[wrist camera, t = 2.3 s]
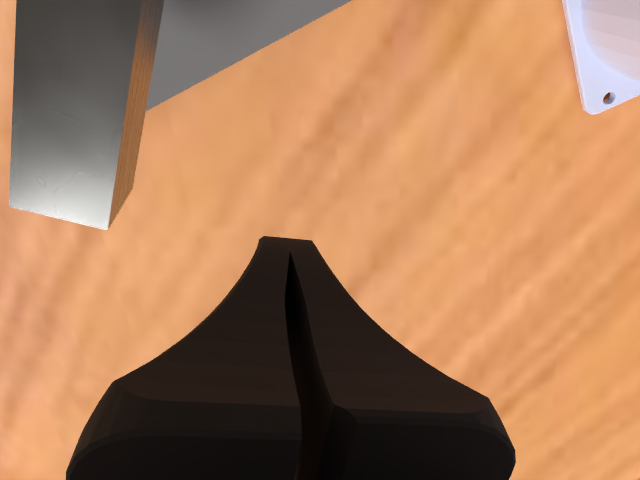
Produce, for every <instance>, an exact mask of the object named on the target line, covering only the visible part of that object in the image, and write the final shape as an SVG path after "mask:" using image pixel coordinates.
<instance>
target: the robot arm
mask: <svg viewBox="0 0 640 480" xmlns="http://www.w3.org/2000/svg"><path fill="white" fill-rule="evenodd" d="M562 3H563V8H564V14H565V19H566V24H567V30H568V35H569V40H570V45H571V51H572V56H573V61H574V66H575V72H576V77H577V82H578V88H579V93H580V98H581V103H582V107H583V110H584V111H586V112H587V113H589V114H593V115H595V114H599V113H601V112H603V111H605V110H608V109H610V108H612V107H614V106H616V105H619V104H621V103H623V102H625V101H627V100H630V99H632V98H634V97H636V96H638V95H640V0H562ZM609 92H610V97H609V98H608V100H606V101H604V102H603V98H604V96H605V95H606V94H607V93H609ZM515 463H516V460H515V449H514V447H513V445H512V443H511V441H510V439H509V436H508V434H507V432H506V430H505V427H504V425H503V423H502V421H501V419H500V417H499V415H498V414H497V412H496V410H495V408H494V407H493V405H492V403H491V401H490V400H489V398H488V397H486V396H484V395H482V394H480V393H478V392H476V391H474V390H473V389H471V388H469V387H467V386H465V385H463V384H461V383H459V382H458V381H456V380H454V379H452V378H450V377H448V376H447V375H445V374H444V373H442V372H440V371H439V370H437V369H436V368H434V367H432V366H431V365H429V364H428V363H426V362H425V361H423V360H422V359H420V358H419V357H417V356H416V355H415V354H413V353H412V352H410V351H409V350H408V349H407V348H405V347H404V346H403V345H401V344H400V343H399V342H398V341H396V340H395V339H394V338H392V337H391V336H390V335H389V334H388V333H387V332H385V331H384V330H383V329H382V328H381V327H380V326H379V325H378V324H377V323H376V322H375V321H373V320H372V319H371V318H370V317H369V316H368V315H367V314H366V313H365V312H364V311H363V310H362V309H361V308H360V306H359V305H358V304H357V303H356V302H355V301H354V300H353V298H352V297H351V296H350V295H349V294H348V292H347V291H346V290H345V289H344V287H343V286H342V284H341V283H340V282H339V280H338V279H337V278H336V276H335V275H334V274H333V272H332V271H331V269H330V268H329V266H328V265H327V263H326V262H325V260H324V259H323V257H322V256H321V254H320V252H319V251H318V249H317V247H316V246H315V244H314V243H313V242H312V241H311V240H301V239H290V238H279V237H268V236H263V237H262V238H261V239H259V243H258V246H257V249H256V251H255V254H254V256H253V258H252V259H251V261H250V263H249V265H248V266H247V268H246V269H245V271H244V273H243V274H242V276H241V277H240V279H239V280H238V282H237V283H236V284H235V286H234V287H233V288H232V289H231V291H230V292H229V293H228V295H227V296H226V297H225V298H224V300H223V301H222V302H221V303H220V304H219V305H218V306H217V307H216V309H215V310H214V311H213V312H212V313H211V314H210V315H209V316H208V317H207V318H206V319H205V320H203V321H202V322H201V323H200V324H199V325H198V326H197V327H196V328H195V329H193V330H192V331H191V332H190V333H189V334H188V335H186V336H185V337H184V338H183V339H181V340H180V341H179V342H177V343H176V344H175V345H173V346H172V347H170V348H169V349H168V350H166V351H165V352H163V353H162V354H161V355H159V356H158V357H156V358H155V359H153V360H152V361H150V362H148V363H147V364H145V365H143V366H141V367H139V368H138V369H136V370H134V371H132V372H130V373H128V374H127V375H125V376H123V377H121V378H119V379H117V380H115V381H113V382H112V384H111V385H110V386H109V388H108V389H107V391H106V392H105V394H104V395H103V397H102V398H101V400H100V401H99V403H98V405H97V406H96V408H95V410H94V411H93V413H92V415H91V417H90V418H89V420H88V422H87V424H86V426H85V427H84V429H83V431H82V434H81V436H80V438H79V440H78V443H77V446H76V448H75V451H74V453H73V456H72V458H71V461H70V463H69V466H68V468H67V471H66V480H509V478H510V476H511V474H512V471H513V469H514V466H515Z"/></svg>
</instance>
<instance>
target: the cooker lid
mask: <svg viewBox="0 0 640 480" xmlns="http://www.w3.org/2000/svg"><path fill="white" fill-rule="evenodd" d="M163 6H164V0H17V4H16V31H15V59H14V86H13V113H12V141H11V168H10V196H9V207H12V208H16V209H20V210H25V211H29V212H33V213H37V214H41V215H45V216H50V217H54V218H58V219H62V220H66V221H71V222H75V223H79V224H83V225H87V226H91V227H96V228H100V229H104V230H108V229H109V227H110V225H111V224H112V222H113V220H114V219H115V217H116V215H117V214H118V212H119V210H120V209H121V207H122V205H123V203H124V202H125V200H126V198H127V197H128V195H129V193H130V192H131V190H132V187H133V182H134V176H135V170H136V164H137V158H138V152H139V146H140V141H141V135H142V129H143V123H144V117H145V111H146V106H147V100H148V94H149V88H150V82H151V76H152V70H153V65H154V59H155V53H156V47H157V41H158V35H159V29H160V24H161V18H162V12H163Z"/></svg>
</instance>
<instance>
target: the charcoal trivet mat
mask: <svg viewBox="0 0 640 480" xmlns="http://www.w3.org/2000/svg"><path fill="white" fill-rule="evenodd" d="M349 1H351V0H164V6H163V12H162V18H161V24H160V29H159V35H158V41H157V47H156V53H155V59H154V65H153V70H152V76H151V82H150V88H149V94H148V100H147V106H146V111H147V110H149V109H151V108H153V107H154V106H156V105H158V104H160V103H162V102H164V101H165V100H167V99H169V98H171V97H173V96H175V95H177V94H179V93H180V92H182V91H184V90H186V89H188V88H190V87H191V86H193V85H195V84H197V83H199V82H201V81H203V80H204V79H206V78H208V77H210V76H212V75H214V74H216V73H217V72H219V71H221V70H223V69H225V68H227V67H229V66H230V65H232V64H234V63H236V62H238V61H240V60H242V59H243V58H245V57H247V56H249V55H251V54H253V53H255V52H256V51H258V50H260V49H262V48H264V47H266V46H268V45H269V44H271V43H273V42H275V41H277V40H279V39H281V38H282V37H284V36H286V35H288V34H290V33H292V32H294V31H295V30H297V29H299V28H301V27H303V26H305V25H307V24H308V23H310V22H312V21H314V20H316V19H318V18H320V17H321V16H323V15H325V14H327V13H329V12H331V11H333V10H334V9H336V8H338V7H340V6H342V5H344V4H346V3H347V2H349Z"/></svg>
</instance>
